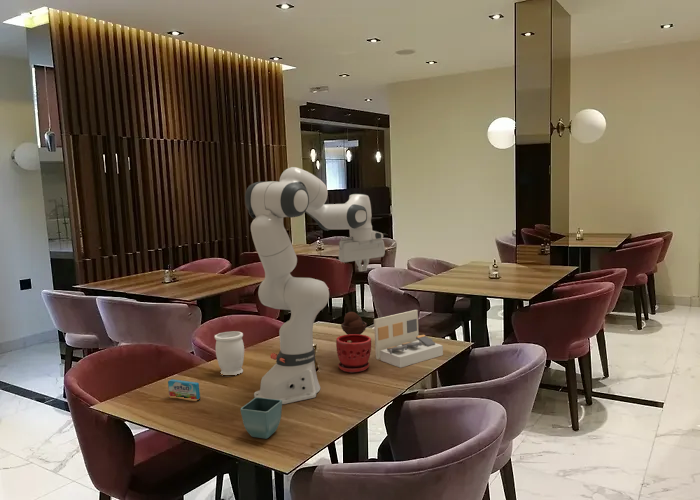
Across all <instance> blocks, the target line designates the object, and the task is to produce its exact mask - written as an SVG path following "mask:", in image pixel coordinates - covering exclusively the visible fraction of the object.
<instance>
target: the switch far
mask: <svg viewBox="0 0 700 500" xmlns="http://www.w3.org/2000/svg"><path fill="white" fill-rule="evenodd" d="M416 339H418V340H419V341H421V342H422V343H423V344H424V345H426V346H427V347H428V346H432V345H435V343H436V342H435V341H433V339H432V340H430V338H429V337H427V336H426V335H425V334H421V335H419V336H416Z"/></svg>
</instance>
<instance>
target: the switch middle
mask: <svg viewBox="0 0 700 500" xmlns="http://www.w3.org/2000/svg"><path fill="white" fill-rule="evenodd" d="M404 345H407V346H408V347H415V346H418V345H421V343H418V342H407V343H403V344H402V346H404Z"/></svg>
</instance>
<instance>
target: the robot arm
mask: <svg viewBox="0 0 700 500" xmlns="http://www.w3.org/2000/svg"><path fill="white" fill-rule="evenodd" d="M328 193H329V192H328V188H327V185H326V183H324V181H322V180H321V178H318V177H317V176H316V175H315V174H313V173H311V172H309V171H307V170H304V169H303V168H300V167H296V166H291V167H288V168H286V169H284V170H283V172H282V173H281V175H280V177H279V181H277V180H275V181H273V180H272V181H271V180H270V181H256V182H254V183H251V184H249V185H248V187H247V188H246V191H245V195H244V202H245V206H246V209H247V210H248V215H250V217H251V219H253V220H252V222H251V223H250V232H251V237H252V241H253V244H254V247H255V250H256V252H257V254H258V257H259V260H260V262H261V264H262V267H263V270H264V279H263V280H262V281H261V283H260V284H259V287H258V291H257V294H258V299H259V301H260V303H261V304H262V305H263V306H265V307H268V308H272V309H275V310H285V311H287V310H288V311H290V314H291V315H290V318H289V320H287V321H286V322H284V323H283V324H282V325H281V326H280V328H279V331H278V333H279V334H278V335H279V348H280V350H279V352H278V354H277V353H275V352H271V354H270V358H271V360H275V361H276V363H275V364H274V365H273V366H272V367H271V368H269V370H268V371H267V372H266V373H265V374H264V375H263V376H262V377H261V380H260V389H259V390H257V391H255V392H254V393H253V397H254V398H256V397H259V398H267V399H276V400H282V405H286V404H291V403H294V402H295V403H296V402H299V401H305V400H309V399H314V398H316V397H317V393H319V392H320V391H321V386H320V383H319V378H318V375H317V371H316V366H315V363H316V352H315V348H314V339H313V337H314V335H313V333H314V332H313V330H314V322H315V320H316V318H317V315H319V313H320V311H322V310H324V308H325V307H326V306H327V304H328V303H329V299H330V290H329V288H328V285H327V284H326V282H325V281H322V280H320V279H317V278H316V279H315V278H312V277H295V276H293V275H292V274H291V273H292V272H293V270H294V269H295V268H296V267H297V263H298V257H297V254H296V251H295V248H294V246H293V244H292V241H291V238H290V237H289V234H288V232H287V229H286V228H285V225H284V218H296V217H297V218H298V217H301V216H302V215H304V214H305V213H306V214H307V215H308V216H310V218H312V219H313V220H314V222H316V224H317V225H318V227H319V228H320V229H321V230H323V231H332V230H349V236H347V237H342V238H341V239H340V240H339V241H338V246H339V247H338V260H339V261H340V263H349V262H350V263H351V262H355V264H356V266H357V267H358V272H367V271H368V265H369V263H370V259H375V258H383V257H384V256H385V254H386V246H385V241H384V240H383V238H384V234H383V233H382V232H379V231H377V230H373V225H372V204H371V200H370V197H369V195H367V194H365V193H352V194H349V197H348V200H347V201H346V202H345V203H335V204H334V203H326V202H327V200H328V195H329V194H328ZM362 261H363V265H362ZM254 398H253V399H254Z"/></svg>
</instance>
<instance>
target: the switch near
mask: <svg viewBox="0 0 700 500" xmlns="http://www.w3.org/2000/svg"><path fill="white" fill-rule="evenodd" d="M390 349H392V351H399V350H402V349H406V346H394V347H390V348H387V351H390Z"/></svg>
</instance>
